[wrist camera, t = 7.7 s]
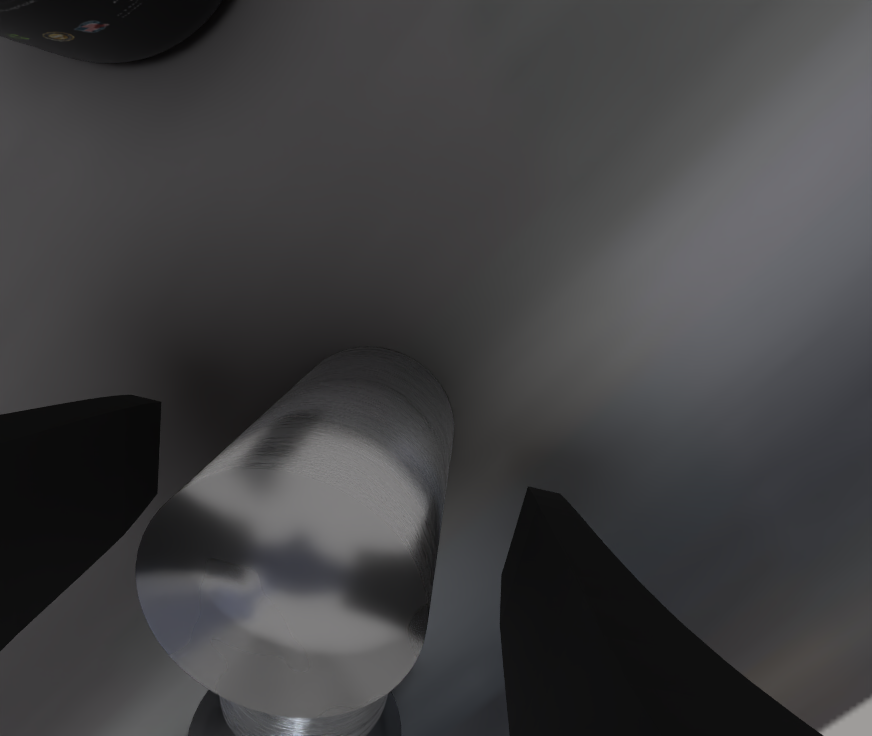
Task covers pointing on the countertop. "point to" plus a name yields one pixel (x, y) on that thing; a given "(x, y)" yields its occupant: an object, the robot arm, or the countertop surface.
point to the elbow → (308, 550)
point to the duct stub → (214, 732)
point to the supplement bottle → (103, 26)
